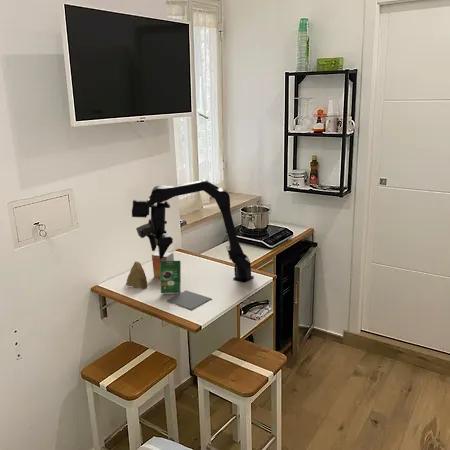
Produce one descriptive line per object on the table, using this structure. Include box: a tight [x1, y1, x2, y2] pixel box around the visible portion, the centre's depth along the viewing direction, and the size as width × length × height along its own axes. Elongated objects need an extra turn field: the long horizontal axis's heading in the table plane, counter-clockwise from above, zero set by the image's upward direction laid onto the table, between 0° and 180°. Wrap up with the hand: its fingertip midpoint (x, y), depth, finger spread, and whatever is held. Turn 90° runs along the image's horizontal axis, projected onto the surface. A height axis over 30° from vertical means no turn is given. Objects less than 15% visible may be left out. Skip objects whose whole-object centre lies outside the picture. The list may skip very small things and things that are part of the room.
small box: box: [151, 250, 175, 279], centre depth 211 cm, size 8×6×10 cm
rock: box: [125, 261, 148, 290], centre depth 203 cm, size 11×9×10 cm
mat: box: [166, 289, 212, 311], centre depth 187 cm, size 14×11×1 cm
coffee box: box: [160, 260, 182, 294], centre depth 194 cm, size 8×3×13 cm, turn 86°
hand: (157, 254), depth 196 cm, fingers open, 9 cm apart
